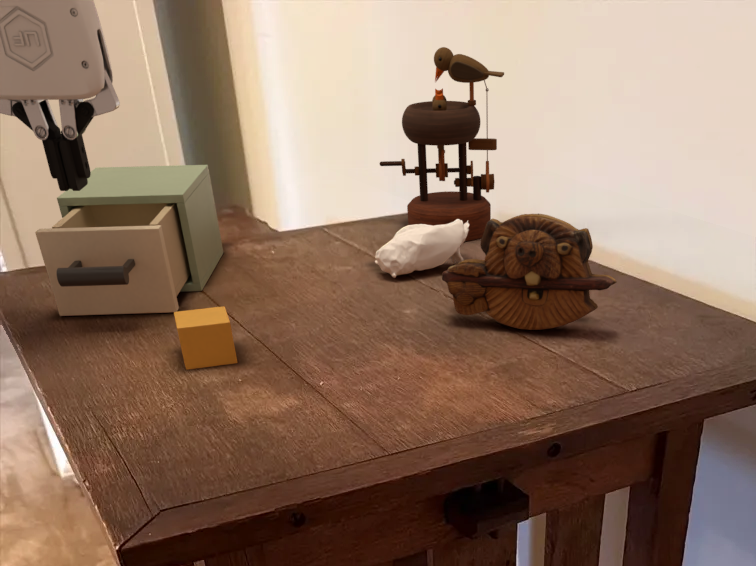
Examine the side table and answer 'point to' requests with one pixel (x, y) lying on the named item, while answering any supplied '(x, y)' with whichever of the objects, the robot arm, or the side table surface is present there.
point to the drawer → (116, 259)
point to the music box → (450, 127)
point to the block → (205, 337)
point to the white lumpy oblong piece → (422, 247)
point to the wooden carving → (528, 274)
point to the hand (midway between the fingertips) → (74, 187)
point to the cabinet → (162, 186)
